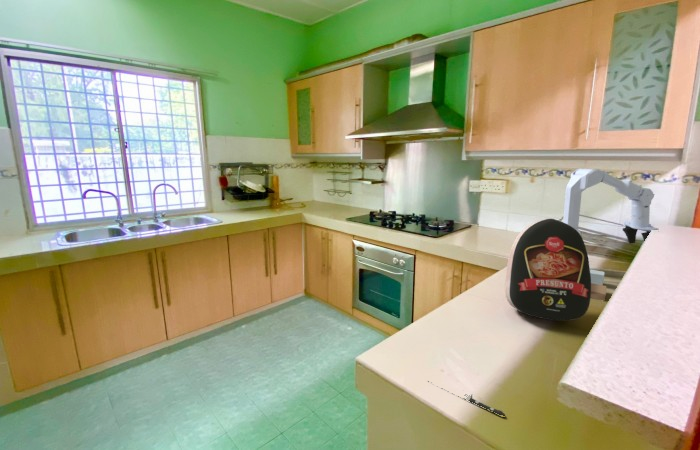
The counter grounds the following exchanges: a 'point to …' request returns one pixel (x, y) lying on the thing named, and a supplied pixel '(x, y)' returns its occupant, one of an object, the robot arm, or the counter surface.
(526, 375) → the counter surface
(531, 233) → the packaged food
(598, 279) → the grey cube
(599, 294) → the walnut block
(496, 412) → the chef's knife
